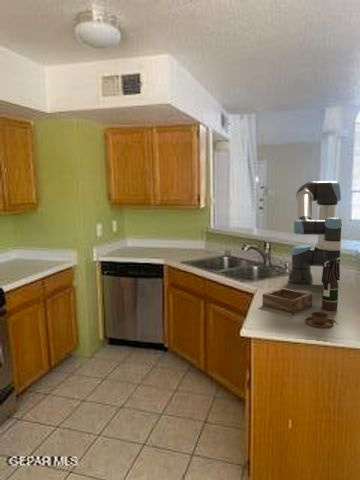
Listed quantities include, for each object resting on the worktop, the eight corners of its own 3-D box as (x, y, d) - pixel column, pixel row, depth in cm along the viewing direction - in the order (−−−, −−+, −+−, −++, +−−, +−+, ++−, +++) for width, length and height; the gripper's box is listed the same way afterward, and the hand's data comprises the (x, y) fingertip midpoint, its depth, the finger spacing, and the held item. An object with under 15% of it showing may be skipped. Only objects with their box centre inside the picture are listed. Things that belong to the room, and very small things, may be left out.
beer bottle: (319, 306, 193) (320, 260, 190) (334, 306, 193) (336, 259, 189) (324, 311, 185) (326, 263, 182) (340, 311, 185) (342, 262, 182)
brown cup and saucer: (305, 330, 162) (306, 317, 161) (287, 315, 181) (287, 303, 181) (344, 328, 164) (344, 315, 163) (322, 313, 183) (322, 301, 182)
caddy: (281, 298, 208) (281, 287, 207) (312, 305, 195) (312, 293, 194) (262, 305, 195) (262, 294, 195) (294, 313, 182) (294, 301, 182)
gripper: (333, 246, 195) (332, 289, 198) (314, 250, 180) (313, 297, 183) (348, 247, 189) (346, 291, 192) (330, 252, 175) (328, 300, 178)
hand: (330, 294), depth 188 cm, fingers closed on beer bottle, 8 cm apart
